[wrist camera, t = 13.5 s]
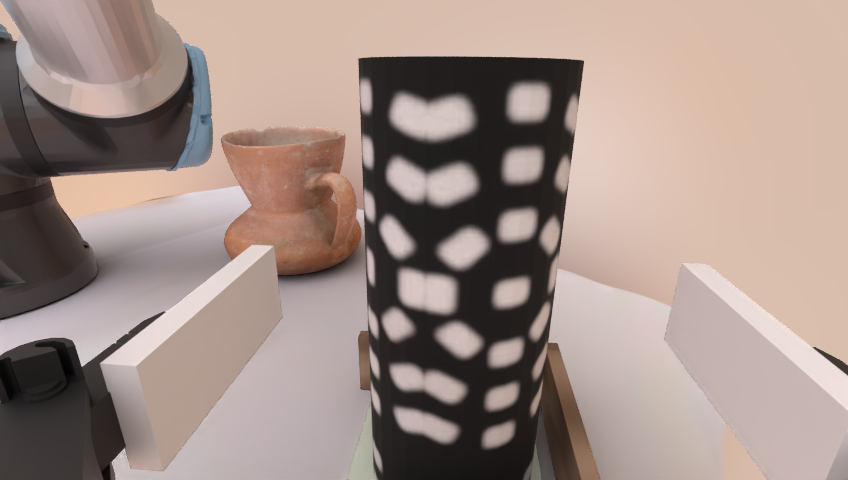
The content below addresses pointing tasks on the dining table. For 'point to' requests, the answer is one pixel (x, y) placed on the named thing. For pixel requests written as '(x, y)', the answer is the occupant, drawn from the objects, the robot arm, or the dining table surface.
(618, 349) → the dining table surface
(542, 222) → the white-spotted black cylinder
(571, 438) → the tray
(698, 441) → the dining table surface
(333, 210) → the ceramic jug
